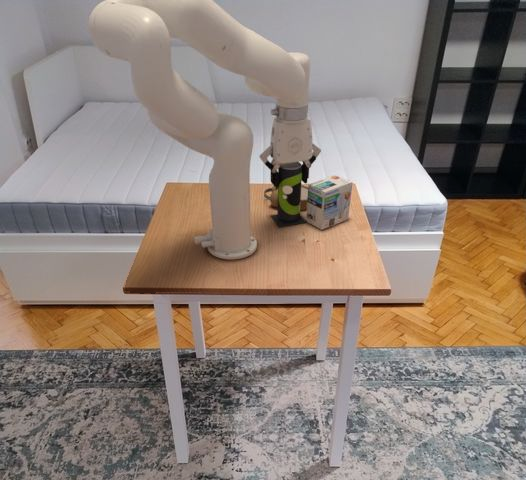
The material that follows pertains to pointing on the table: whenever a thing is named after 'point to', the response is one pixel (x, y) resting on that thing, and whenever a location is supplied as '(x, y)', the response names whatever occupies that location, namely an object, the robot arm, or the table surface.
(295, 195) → the beverage can
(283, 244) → the table surface
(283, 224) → the mat
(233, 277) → the table surface
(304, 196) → the alarm clock
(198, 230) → the table surface
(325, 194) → the light bulb box
